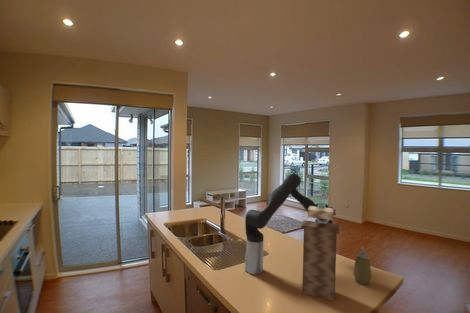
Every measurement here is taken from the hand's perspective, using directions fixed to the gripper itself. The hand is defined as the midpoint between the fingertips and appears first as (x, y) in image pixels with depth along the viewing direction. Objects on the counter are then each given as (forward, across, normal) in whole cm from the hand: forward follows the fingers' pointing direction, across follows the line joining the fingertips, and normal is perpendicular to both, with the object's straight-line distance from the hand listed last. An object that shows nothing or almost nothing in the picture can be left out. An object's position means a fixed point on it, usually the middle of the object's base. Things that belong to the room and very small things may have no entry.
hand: (321, 205), depth 121 cm
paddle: (+2, 0, +5) cm, 5 cm away
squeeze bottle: (-28, +20, +29) cm, 45 cm away
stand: (-11, 0, +39) cm, 40 cm away
